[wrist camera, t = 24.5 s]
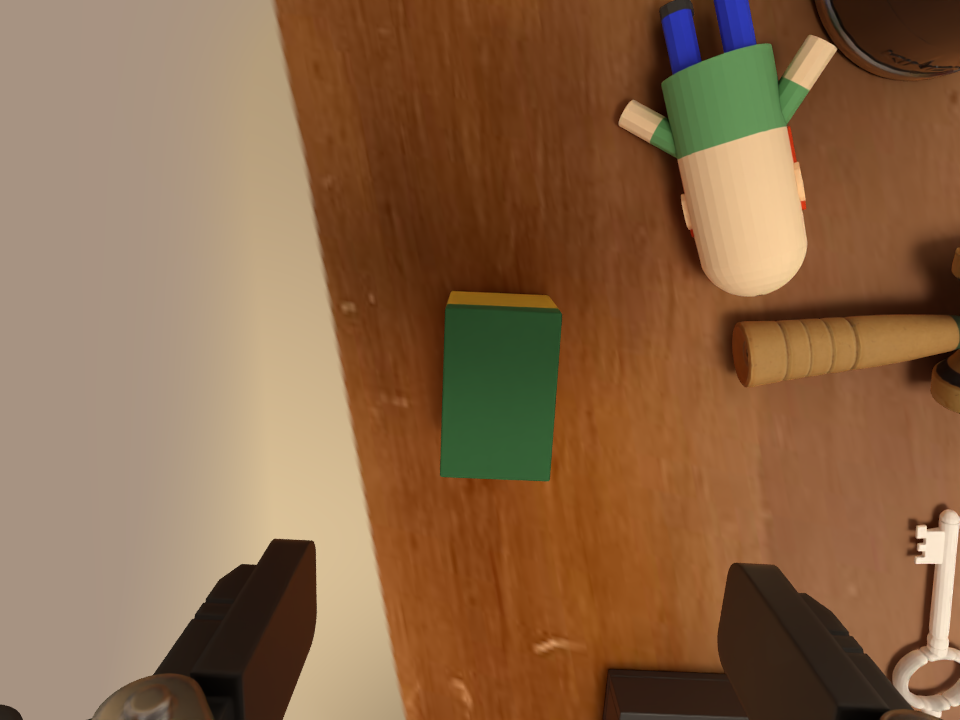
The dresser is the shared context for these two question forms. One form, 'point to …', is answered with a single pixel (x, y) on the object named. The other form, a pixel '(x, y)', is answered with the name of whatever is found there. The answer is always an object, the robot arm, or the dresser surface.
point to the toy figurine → (734, 146)
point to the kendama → (849, 347)
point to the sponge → (499, 385)
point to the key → (934, 615)
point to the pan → (670, 696)
